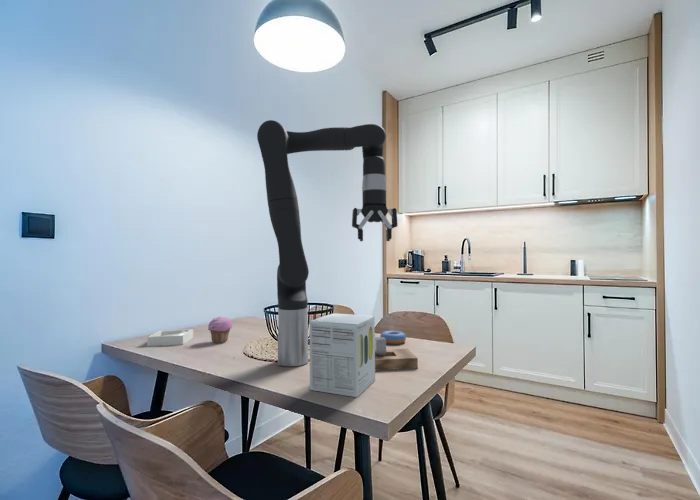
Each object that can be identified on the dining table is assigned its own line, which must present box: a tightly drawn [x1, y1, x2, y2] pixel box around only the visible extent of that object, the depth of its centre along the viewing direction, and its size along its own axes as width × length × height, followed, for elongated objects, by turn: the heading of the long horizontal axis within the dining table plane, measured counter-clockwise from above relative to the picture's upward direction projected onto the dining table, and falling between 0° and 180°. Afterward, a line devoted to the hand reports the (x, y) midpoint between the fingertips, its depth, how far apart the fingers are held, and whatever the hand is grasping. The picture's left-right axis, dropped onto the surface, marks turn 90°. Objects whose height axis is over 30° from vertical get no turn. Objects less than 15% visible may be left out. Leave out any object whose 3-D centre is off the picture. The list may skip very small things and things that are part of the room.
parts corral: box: [146, 328, 194, 347], centre depth 145 cm, size 13×12×4 cm
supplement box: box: [309, 312, 376, 398], centre depth 95 cm, size 13×13×18 cm
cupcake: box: [207, 316, 233, 344], centre depth 143 cm, size 9×9×10 cm
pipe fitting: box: [165, 331, 186, 336], centre depth 145 cm, size 8×4×7 cm
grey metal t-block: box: [375, 336, 387, 357], centre depth 112 cm, size 7×3×8 cm, turn 96°
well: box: [375, 348, 419, 371], centre depth 112 cm, size 20×11×3 cm, turn 96°
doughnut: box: [379, 330, 407, 345], centre depth 141 cm, size 10×10×5 cm
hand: (374, 241), depth 115 cm, fingers open, 8 cm apart
